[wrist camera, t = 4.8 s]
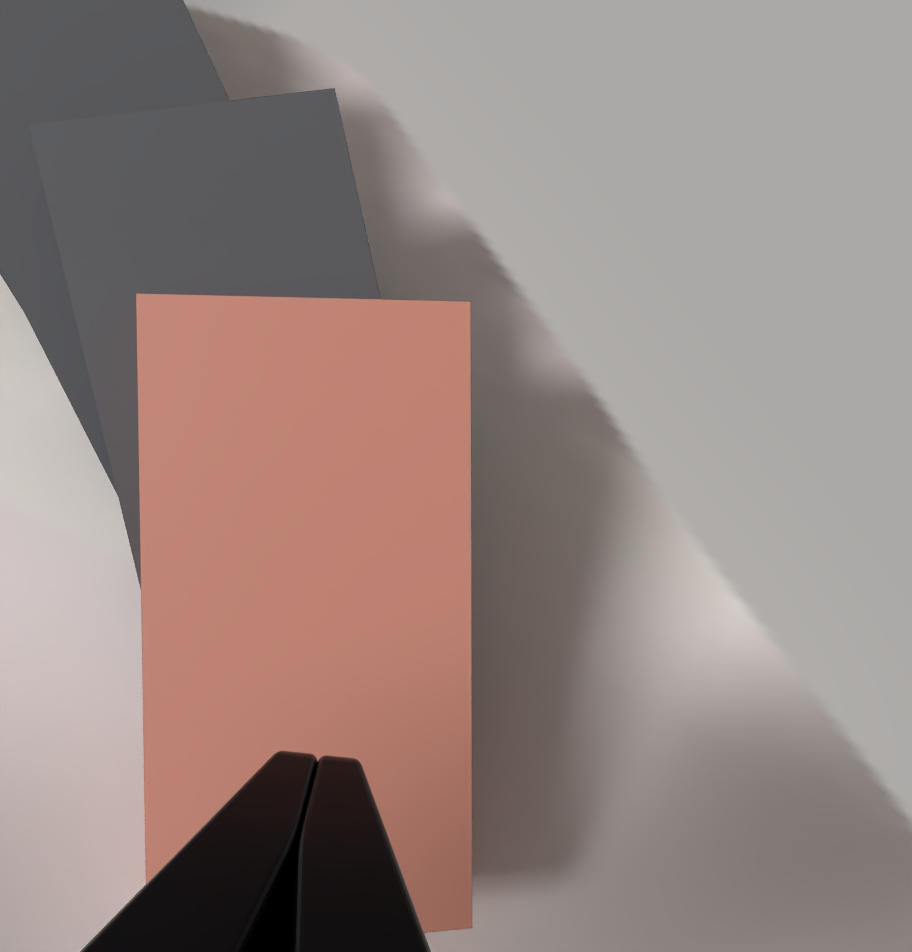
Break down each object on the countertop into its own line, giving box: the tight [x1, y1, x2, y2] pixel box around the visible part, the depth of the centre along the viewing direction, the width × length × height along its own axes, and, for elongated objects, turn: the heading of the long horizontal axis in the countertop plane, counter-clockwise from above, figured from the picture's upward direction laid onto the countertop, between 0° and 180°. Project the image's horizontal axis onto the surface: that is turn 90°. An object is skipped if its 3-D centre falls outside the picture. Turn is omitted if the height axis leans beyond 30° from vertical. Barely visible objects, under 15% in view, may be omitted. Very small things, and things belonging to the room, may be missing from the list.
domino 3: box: [136, 294, 472, 933], centre depth 14 cm, size 2×5×10 cm
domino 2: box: [29, 88, 380, 588], centre depth 16 cm, size 2×5×10 cm
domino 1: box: [0, 0, 230, 495], centre depth 17 cm, size 2×5×10 cm
